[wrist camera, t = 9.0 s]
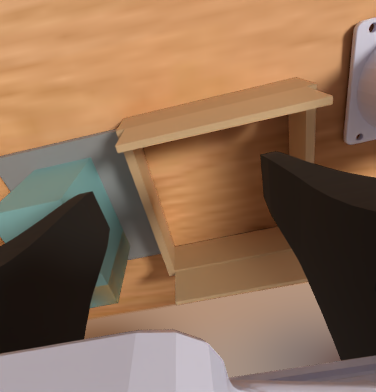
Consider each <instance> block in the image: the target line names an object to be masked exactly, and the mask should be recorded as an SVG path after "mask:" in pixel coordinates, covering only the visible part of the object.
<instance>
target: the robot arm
mask: <svg viewBox="0 0 376 392" xmlns="http://www.w3.org/2000/svg"><path fill="white" fill-rule="evenodd" d="M372 23H373V24H374V28H373V30H372V31H371V32H370V31H369V27H370V25H371V24H372ZM358 134H360V137H359V138H357V139H356V137H357V135H358ZM343 139H344V142H345V143H347V144H349V145H353V144H357V143H362V142H367V141H371V140H376V17H374V18H370V19H366V20H362V21H360V22H359V23H358V24H357V25H356V26H355V28H354V31H353V40H352V51H351V62H350V73H349V84H348V95H347V106H346V116H345V127H344V138H343ZM260 157H261V169H262V181H263V193H264V199H265V201H266V204H267V206H268V208H269V211H270V213H271V215H272V217H273V219H274V221H275V222H276V224H277V226H278V227H279V229H280V231H281V232H282V234H283V236H284V237H285V239H286V240H287V242H288V244H289V245H290V247H291V249H292V250H293V252H294V254H295V255H296V257H297V259H298V261H299V263H300V265H301V267H302V269H303V271H304V273H305V276H306V278H307V280H308V282H309V284H310V286H311V289H312V291H313V293H314V295H315V298H316V300H317V303H318V305H319V307H320V309H321V312H322V314H323V316H324V319H325V321H326V324H327V326H328V329H329V331H330V333H331V336H332V338H333V341H334V343H335V346H336V349H337V351H338V354H339V356H340V359H341V361H336V362H329V363H323V364H316V365H309V366H303V367H296V368H290V369H283V370H276V371H270V372H264V373H257V374H250V375H244V376H237V377H231V378H228V375H227V372H226V368H225V364H224V361H223V360H222V358H221V357H220V356H219V355H218V354H217V353H216V352H215V350H214V349H213V348H212V347H211V346H210V345H209V343H207V342H206V341H204V340H202V339H200V338H197V337H194V336H191V335H188V334H185V333H182V332H180V331H177V330H136V331H131V332H125V333H119V334H113V335H107V336H101V337H95V338H89V339H84V336H85V330H86V324H87V319H88V314H89V309H90V304H91V300H92V296H93V292H94V289H95V286H96V283H97V280H98V276H99V273H100V270H101V267H102V264H103V261H104V257H105V254H106V251H107V247H108V241H109V233H110V227H109V225H108V223H107V221H106V219H105V217H104V214H103V212H102V210H101V208H100V206H99V204H98V202H97V200H96V198H95V196H94V193H93V191H91V192H86V193H82V194H78V195H76V196H74V197H73V198H71V199H69V200H68V201H66V202H65V203H63V204H62V205H61V206H59V207H58V208H56V209H55V210H54V211H52V212H51V213H50V214H48V215H47V216H45V217H44V218H43V219H41V220H40V221H38V222H37V223H36V224H34V225H33V226H31V227H30V228H28V229H27V230H25V231H24V232H22V233H21V234H19V235H18V236H16V237H15V238H13V239H12V240H10V241H8V242H7V243H5V244H3V245H2V246H0V392H376V178H374V177H368V176H362V175H357V174H352V173H347V172H342V171H338V170H334V169H331V168H327V167H323V166H320V165H317V164H313V163H310V162H307V161H304V160H301V159H299V158H296V157H293V156H290V155H287V154H284V153H281V152H276V151H275V152H270V153H266V154H261V155H260Z"/></svg>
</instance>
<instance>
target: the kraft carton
mask: <svg viewBox="0 0 376 392" xmlns="http://www.w3.org/2000/svg"><path fill="white" fill-rule="evenodd" d="M332 104H333V96H332V95H329V94H326V93H324V92H321V91H318V90H317V84H316V83H313V82H310V81H307V80H304V79H301V78H297V77H295V78H291V79H287V80H283V81H279V82H274V83H270V84H266V85H262V86H258V87H253V88H249V89H245V90H241V91H237V92H232V93H228V94H224V95H220V96H216V97H211V98H207V99H203V100H199V101H195V102H190V103H186V104H182V105H178V106H174V107H169V108H165V109H161V110H157V111H153V112H148V113H144V114H140V115H136V116H132V117H127V118H124V119H123V120H122V122H121V124H120V125H119V127H118V128H117V130H116V134H117V136H118V139H119V140H118V142H117V144H116V145H115V147H116V150H117V152H118V153H121V152H124V155H125V158H126V161H127V163H128V166H129V169H130V171H131V174H132V177H133V179H134V182H135V185H136V187H137V190H138V193H139V196H140V198H141V201H142V204H143V206H144V209H145V212H146V214H147V217H148V220H149V222H150V225H151V228H152V230H153V233H154V236H155V239H156V241H157V244H158V247H159V249H160V252H161V255H162V257H163V260H164V263H165V265H166V268H167V271H168V274H169V276H175V303H176V305H181V304H186V303H192V302H198V301H203V300H209V299H215V298H220V297H226V296H232V295H237V294H243V293H249V292H254V291H260V290H265V289H271V288H277V287H282V286H288V285H294V284H299V283H305V282H308V280H307V278H306V276H305V273H304V271H303V269H302V267H301V265H300V263H299V261H298V259H297V257H296V255H295V254H294V252H293V250H292V249H291V247H290V245H289V244H288V242H287V240H286V239H285V237H284V236H283V234H282V232H281V231H280V229H279V227H273V228H268V229H263V230H258V231H252V232H247V233H242V234H237V235H232V236H227V237H222V238H217V239H211V240H206V241H201V242H196V243H191V244H186V245H181V246H174V243H173V240H172V237H171V234H170V231H169V228H168V225H167V222H166V218H165V215H164V212H163V209H162V206H161V203H160V200H159V197H158V194H157V191H156V188H155V185H154V182H153V179H152V176H151V173H150V170H149V167H148V164H147V161H146V158H145V155H144V152H143V149H142V148H143V147H147V146H152V145H156V144H161V143H165V142H169V141H174V140H178V139H183V138H187V137H191V136H196V135H200V134H204V133H209V132H213V131H218V130H222V129H226V128H231V127H235V126H240V125H244V124H248V123H253V122H257V121H262V120H266V119H270V118H275V117H279V116H284V115H288V121H289V155H290V156H293V157H296V158H299V159H301V160H304V161H307V162H310V163H313V164H314V159H315V129H316V108H319V107H323V106H327V105H332Z"/></svg>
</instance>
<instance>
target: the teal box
mask: <svg viewBox="0 0 376 392" xmlns="http://www.w3.org/2000/svg"><path fill="white" fill-rule="evenodd" d="M91 191H93V193H94V196H95V198H96V200H97V202H98V204H99V206H100V208H101V210H102V212H103V214H104V217H105V219H106V221H107V223H108V225H109V227H110V233H109V241H108V247H107V251H106V254H105V257H104V261H103V264H102V267H101V270H100V273H99V276H98V280H97V283H96V286H95V289H94V292H93V296H92V300H91V304H90V308H93V307H99V306H104V305H110V304H115V303H118V301H119V296H120V292H121V287H122V283H123V278H124V274H125V269H126V264H127V260H128V255H129V251H130V244H129V242H128V240H127V238H126V235H125V233H124V231H123V229H122V226H121V224H120V222H119V220H118V217H117V215H116V213H115V211H114V208H113V206H112V204H111V202H110V199H109V197H108V195H107V193H106V190H105V188H104V186H103V184H102V181H101V179H100V177H99V175H98V172H97V170H96V168H95V166H94V164H93V161H92V159H91V157H90V158H85V159H81V160H77V161H72V162H68V163H64V164H59V165H55V166H50V167H46V168H42V169H37V170H34V171H33V172H32V173H31V174H30V175H29V176H28V177H26V178H25V179H24V180H23V181H22V182H21V183H20V184H19V185H18V186H17V187H16V188H15V189H14V190H12V191H11V192H10V193H9V194H8V195H7V196H6V197H5V198H4V199H3V200H2V201H1V202H0V237H1V238H2V240H3V241H4V242H5V243H7V242H8V241H10V240H12V239H13V238H15V237H16V236H18V235H19V234H21V233H22V232H24V231H25V230H27V229H28V228H30V227H31V226H33V225H34V224H36V223H37V222H38V221H40V220H41V219H43V218H44V217H45V216H47V215H48V214H50V213H51V212H52V211H54V210H55V209H56V208H58V207H59V206H61V205H62V204H63V203H65V202H66V201H68V200H69V199H71V198H73V197H74V196H76V195H78V194H82V193H86V192H91Z"/></svg>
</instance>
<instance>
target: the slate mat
mask: <svg viewBox="0 0 376 392" xmlns="http://www.w3.org/2000/svg"><path fill="white" fill-rule="evenodd" d="M116 130H117V129H114V130H110V131H105V132H101V133H97V134H93V135H88V136H84V137H80V138H76V139H71V140H67V141H63V142H59V143H54V144H50V145H46V146H42V147H37V148H33V149H29V150H25V151H20V152H16V153H12V154H8V155H4V156H0V176H1V178H2V179H3V181H4V182H5V184H6V185H7V187H8V188H9V190H10V191H12V190H14V189H15V188H16V187H17V186H18V185H19V184H20V183H21V182H22V181H23V180H24V179H25V178H26V177H28V176H29V175H30V174H31V173H32V172H33V171H34V170H37V169H42V168H46V167H50V166H55V165H59V164H64V163H68V162H72V161H77V160H81V159H85V158H90V157H91V159H92V161H93V164H94V166H95V168H96V170H97V172H98V175H99V177H100V179H101V181H102V184H103V186H104V188H105V190H106V193H107V195H108V197H109V199H110V202H111V204H112V206H113V208H114V211H115V213H116V215H117V217H118V220H119V222H120V224H121V226H122V229H123V231H124V233H125V235H126V238H127V240H128V242H129V244H130V251H129V255H128V260H131V259H136V258H141V257H146V256H151V255H157V254H161V252H160V249H159V247H158V244H157V241H156V239H155V236H154V233H153V230H152V228H151V225H150V222H149V220H148V217H147V214H146V212H145V209H144V206H143V204H142V201H141V198H140V196H139V193H138V190H137V187H136V185H135V182H134V179H133V177H132V174H131V171H130V169H129V166H128V163H127V161H126V158H125V155H124V152H121V153H118V152H117V150H116V147H115V145H116V144H117V142H118V140H119V139H118V136H117V134H116Z"/></svg>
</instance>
